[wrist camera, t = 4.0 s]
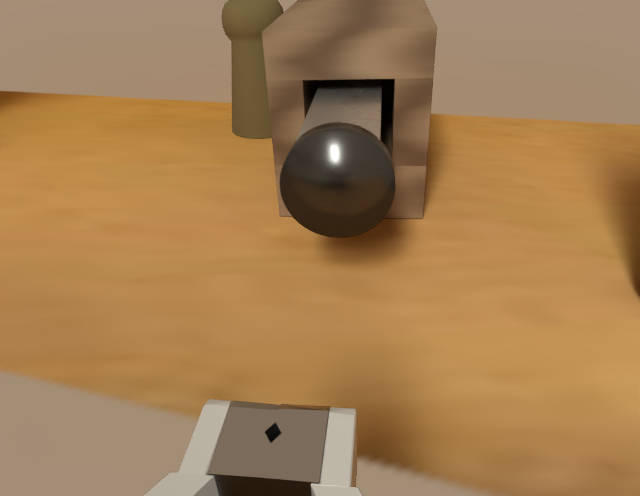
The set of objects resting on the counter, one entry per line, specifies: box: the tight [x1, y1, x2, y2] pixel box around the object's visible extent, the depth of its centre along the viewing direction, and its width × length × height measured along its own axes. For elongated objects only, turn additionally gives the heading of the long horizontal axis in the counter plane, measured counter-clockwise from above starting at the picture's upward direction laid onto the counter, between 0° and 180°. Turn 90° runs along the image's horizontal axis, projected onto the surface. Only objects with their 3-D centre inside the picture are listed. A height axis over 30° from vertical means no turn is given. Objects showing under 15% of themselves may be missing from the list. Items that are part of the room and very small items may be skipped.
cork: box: [222, 0, 284, 139], centre depth 44 cm, size 6×6×11 cm
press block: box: [262, 0, 437, 218], centre depth 34 cm, size 9×13×11 cm
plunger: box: [280, 79, 395, 238], centre depth 27 cm, size 5×13×5 cm, turn 174°
